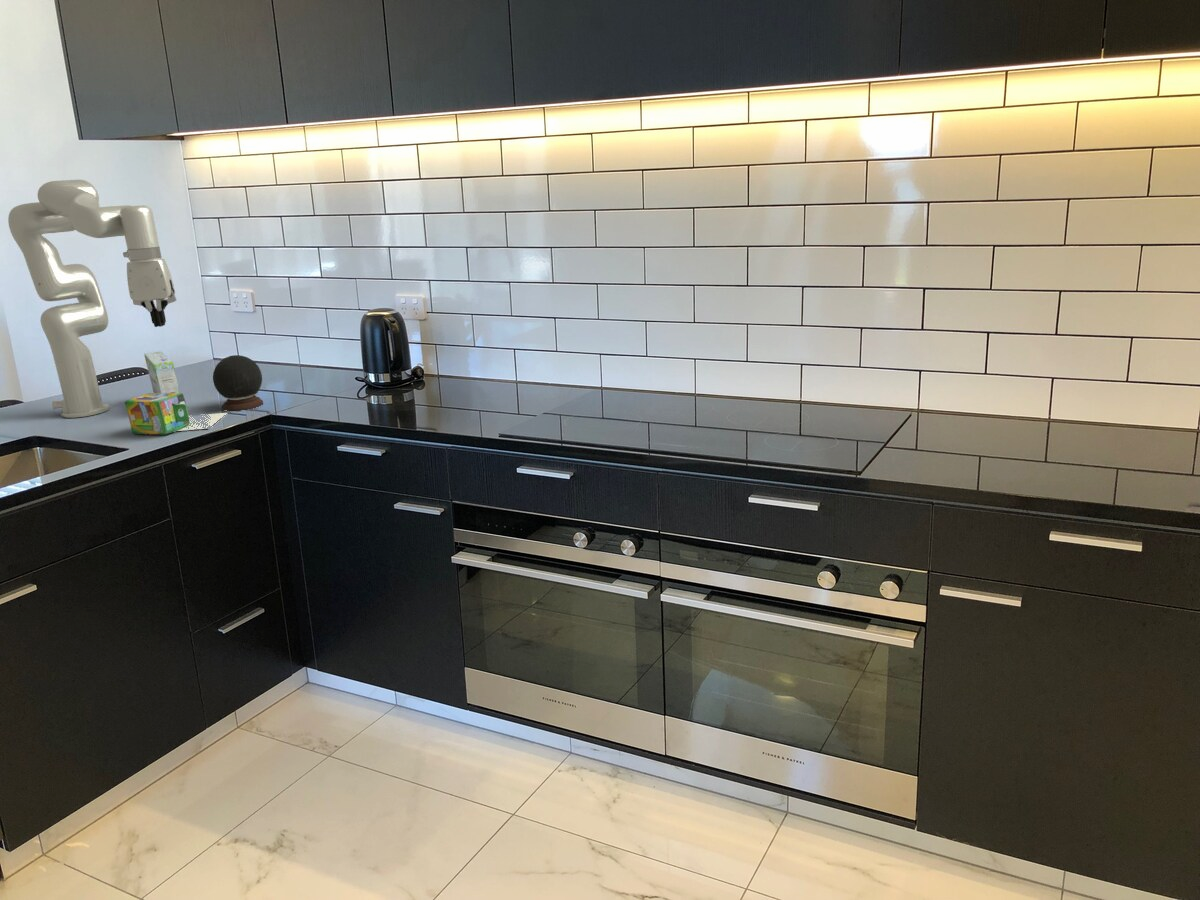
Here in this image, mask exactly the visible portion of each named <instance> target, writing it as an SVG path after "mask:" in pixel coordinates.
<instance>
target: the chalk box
mask: <svg viewBox="0 0 1200 900" xmlns="http://www.w3.org/2000/svg"><path fill="white" fill-rule="evenodd" d="M124 405H125V409H126V412H127V413H126V414H127V417H128V420H129V425H130V428H131V432H132V434H140V435H142V434H143V435H147V434H149V435H168V434H171V433H172V432H174V431H176V430H178V429H181V428H184V427H186V426H188V425H189V424H190V421H189V416H190V415H189V413H188V408H187V404H186V400H185V395H184V393H182V392H180V393H154V392H153V393H152V392H151V393H146V394H142V395H140V396H136V397H133V398H131V399H127V400H125V401H124ZM174 433H175V432H174Z"/></svg>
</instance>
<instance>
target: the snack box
mask: <svg viewBox="0 0 1200 900" xmlns="http://www.w3.org/2000/svg"><path fill="white" fill-rule="evenodd" d="M143 356H144V359H145V364H146V368H147V371H148V375H149V380H150V385H151V388H152V391H153V393H181V392H180V390H179V389H180V388H179V385H178V384H179V383H178V381H177V380H178V379H177V376H176V374H177V373H176V371H175V366H174V362H173V360H172V359H170V357H168V356H167V354H165V353H164V352H163V351H162V350H159V351H158V350H157V351H151V352H148V353H147V352H145V353H144V355H143Z"/></svg>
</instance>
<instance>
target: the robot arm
mask: <svg viewBox="0 0 1200 900" xmlns="http://www.w3.org/2000/svg"><path fill="white" fill-rule="evenodd" d="M99 199H100V196H99V193H98V190H97V189H96V188H95V186H94V185H93V184H92V183H91V182H89V181H87V180H84V179H66V180H64V179H63V180H51V181H47V182H46V183H43V184H42V185H41V186H40V187H39V188H38V190H37V200H38V202H30V203H22V204H19V205H16V206H14V207H13V208H11V210H10V211H9V214H8V216H7V217H8V220H7V221H8V228H9V231H10V233H11V236H12V238H13V240H14V241H15V243H16V245H17V246H18V248H19V249H20V251H21V252H22V254H23V257H24V259H25V263H26V266H27V269H28V272H29V275H30V277H31V280H32V283H33V286H34V289H35V291H36V294H37V295H38V297H39V298H40V299H41V300H42V301H44V302H59V301H65V300H71V299H77V302H75V303H67V304H61V305H60V304H59V305H56V306H52V307H49V308H47V309H45V310H44V311H43V312H42V313H41V315H40V325H41V328H42V330H43V332H44V334H45V337H46V340H47V341H48V344H49V346H50V347H49V348H50V349H51V354H52V356H53V361H54V364H55V368H56V373H57V377H58V380H59V385H60V388H61V393H62V397H63V399H62V400H54V401H52V403H51V406H52V409H54V410H55V409H61V410H62V411H61V412H60V414H61V417H63V418H68V419H70V418H73V419H74V418H75V419H76V418H84V417H88V416H89V417H90V416H93V415H99V414H102V413H104V412H107V411H108V410H110V405H109V404H108V403H104V402H103V400H102V396H101V395H102V394H101V391H100V387H99V383H98V378H97V375H96V370H95V365H94V361H93V357H92V354H91V350H90V349H89V348H88V347H89V346H87V345H86V344H85V343H84V342H82V341H81V340H80V337H83V336H90V335H94V334H98V333H102V332H104V331H105V330H106V329H107V328H108V326H109V316H108V311H107V308H106V304H105V303H104V300H103V296H102V294H101V291H100V287H99V284H98V281H97V279H96V275H95V274H94V272H92V270H91V269H90V268H89V267H88V266H86V265H85V264H81V263H74V264H73V263H72V264H71V263H70V264H64V263H63V261H62V259H61V256H60V253H59V250H58V249H57V248H56V246H55V244H53V243H52V242H51V241H50V240H48V238H46V237H45V236H44V234H46V235H47V234H57V233H59V234H60V233H65V232H66V233H67V232H69V233H70V232H74V231H76V232H77V233H80V234H82V235H85V236H88V237H90V238H94V239H105V238H106V239H107V238H114V237H124V239H125V245H126V251H124V252H123V253H122V256H123V258H128V260H129V261H128V262H126V278H127V285H128V286H127V287H128V292H129V297H130V300H132V304H133V305H135V306H139V307H143V308H145V310H147V312H148V313H150V315H149V316H150V319H151V322H152V324H153V326H154V327H155V328H157V327H163V326H165V325H166V323H167V320H166V319H167V318H166V315H165V310H166V308H167V306H168V305H169V304H172V303H175V302H177V297H176V295H175V293H176V291H175V287H174V286H175V285H174V282H173V279H172V274H171V271H170V268H169V266H168V264H167V261H166V260H165V259H164V258H162V252H161V249H160V244H159V237H158V234H157V227H156V223H155V218H154V213H153V211H152V208H151V207H150V206H149V205H110V206H101V207H100V203H99V202H100V200H99Z"/></svg>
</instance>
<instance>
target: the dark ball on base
mask: <svg viewBox="0 0 1200 900" xmlns="http://www.w3.org/2000/svg"><path fill="white" fill-rule="evenodd" d="M212 382H213V385H214V387H215V389H216V391H217V393H218V394H220V396H222V397H224V398H225V399H227V400H226V401H224V402H223V405H222V406H221V409H223V410H227V411H236V412H242V411H241V410H245V411H249V410H248V409H250V410H254V409H257V408H256V407H258V408H260V407H262V406H263V405H264V401H263V400H262V398H260V397H258V396H256V394H258V392H259V390H260V389H261V387H262V383H263V374H262V370H261V369H260V367H259V365H258V364H257V363H256V361H254V360H253V359H252V358H249V357H247V356H244V355H237V354H235V355H229V356H226V357H224V358H223V359H221V360H220V361H219V362H218V363H217V364H216V366H215V368H214V370H213V373H212ZM261 405H262V406H261ZM259 406H260V407H259ZM253 408H254V409H253ZM223 410H222V411H223ZM227 411H226V412H227Z"/></svg>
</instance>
